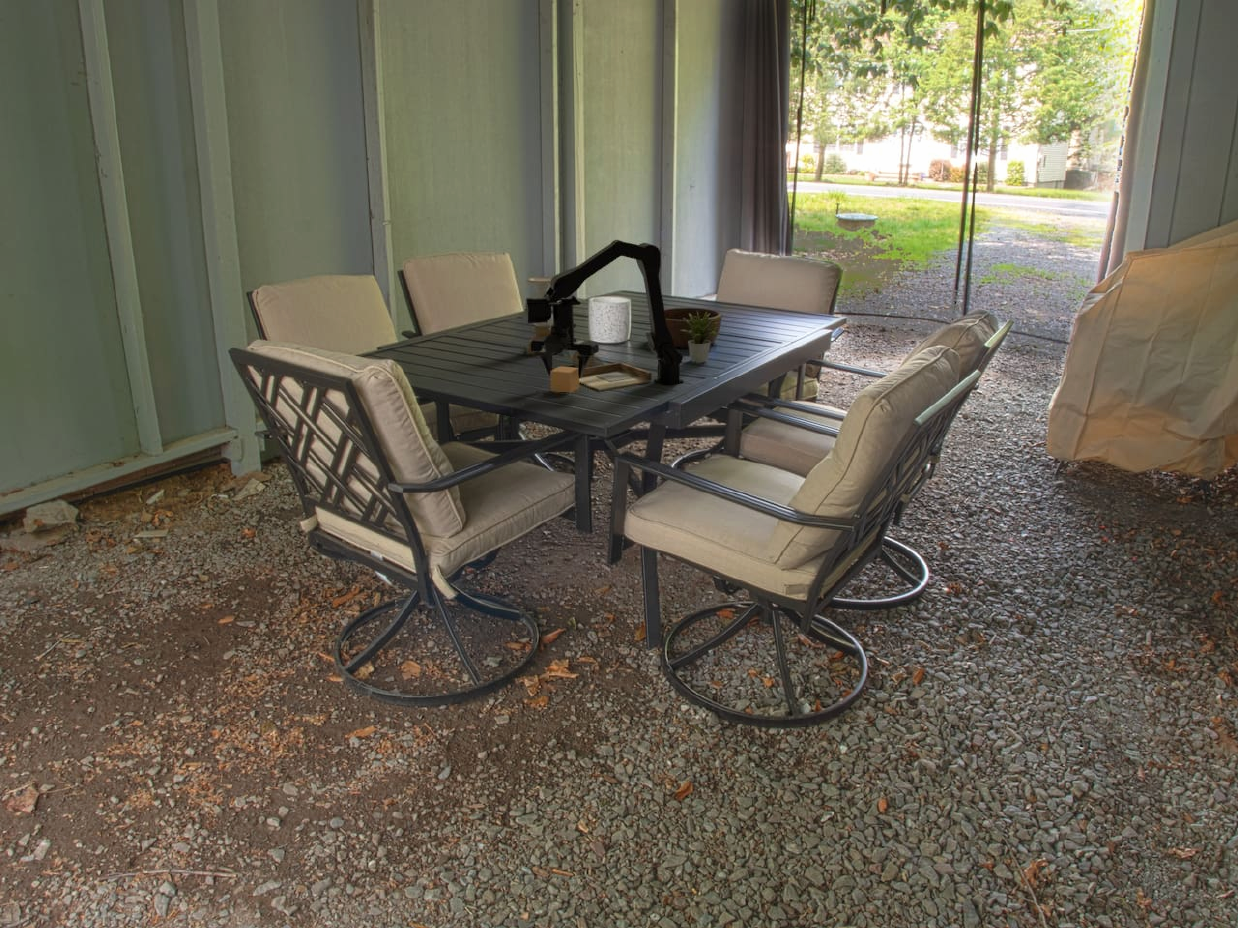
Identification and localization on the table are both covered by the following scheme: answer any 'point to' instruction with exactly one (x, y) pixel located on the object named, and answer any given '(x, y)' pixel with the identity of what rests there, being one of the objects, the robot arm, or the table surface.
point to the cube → (564, 379)
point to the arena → (614, 376)
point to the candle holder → (541, 287)
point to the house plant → (699, 337)
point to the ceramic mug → (592, 360)
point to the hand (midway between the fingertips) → (565, 376)
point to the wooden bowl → (678, 323)
